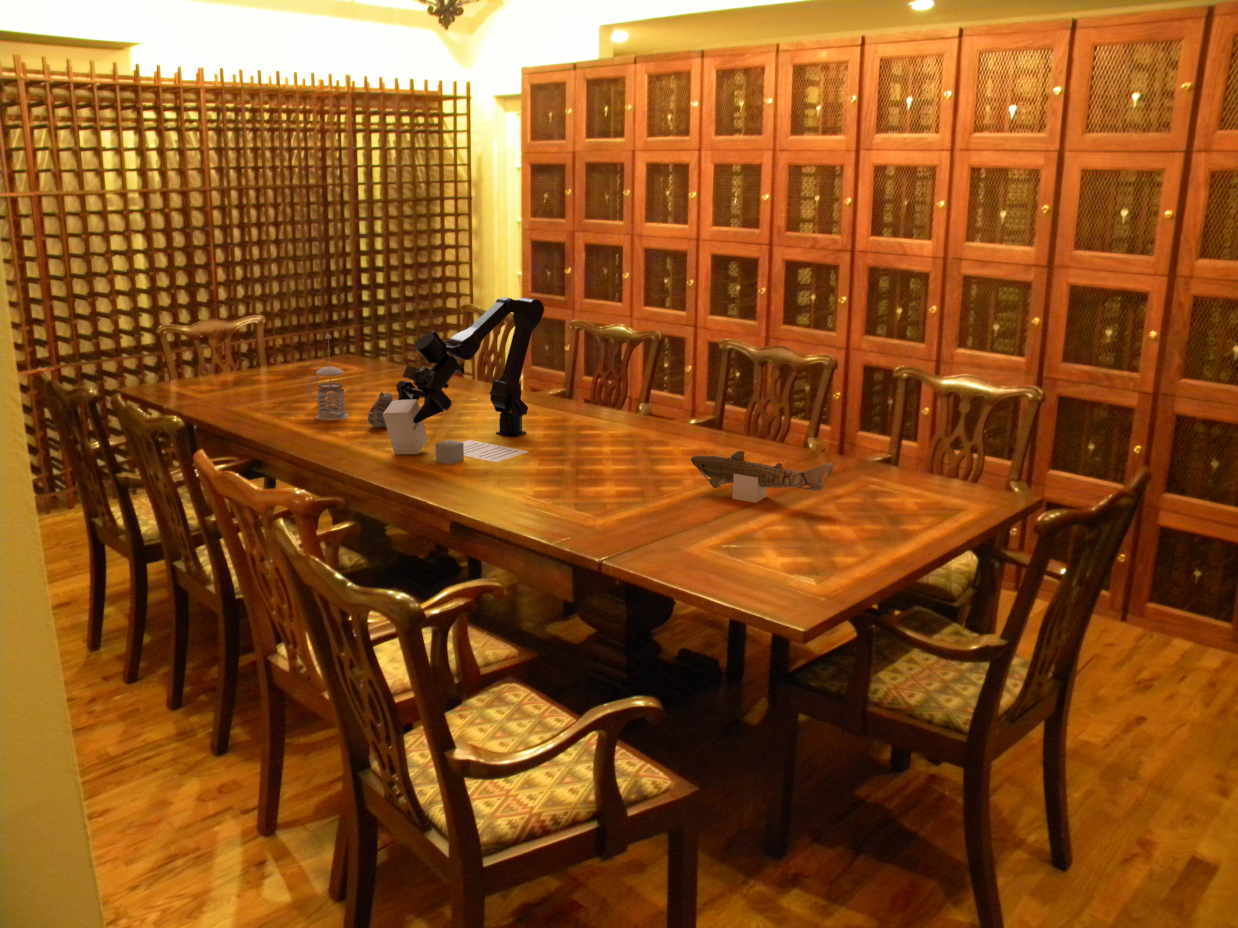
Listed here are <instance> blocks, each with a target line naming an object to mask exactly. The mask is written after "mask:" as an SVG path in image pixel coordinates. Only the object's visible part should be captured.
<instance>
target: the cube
mask: <svg viewBox="0 0 1238 928" xmlns="http://www.w3.org/2000/svg"><path fill="white" fill-rule="evenodd" d="M462 442H463V441H462ZM462 442H460V441H456V440H451V439H447V440H443V441H440V442H437V443H435V461H436V462H438V463H442V464H446V465H454V464H457V463H461V462H463V461H464V460H465V456H464V443H462Z"/></svg>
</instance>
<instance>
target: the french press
mask: <svg viewBox="0 0 1238 928" xmlns="http://www.w3.org/2000/svg"><path fill="white" fill-rule="evenodd" d="M324 338H325V339H327V343H328V344H327V349H328V351H330V342H329V340H331V339H332V335H331V334H326V335H324ZM330 357H331V356H330V354H328V366H324V367H322V368H320V369H318V370H317V371H315V374H316V375H315V376H313V377H312V378H310V379H309V381H308V383H307V393H308V395H309V396H310V398H311V399H313V400H314V401H315V402H317V411H318V412H317V413H318V414H316V415H315V419H317V420H320V421H339V420H340V421H341V420H346V419H347V418H349V414H348V413H346V403H345V402H346V401H345V399H346V398H345V389H343V388H342V387H343V386H344V384H343V383H339V382H332V381H331V380H332V379H331V378H332V377H333V376H340V375H341V376H342V375H343V374H344V372H345V371H344V370H343V369H341V368H339V367H336V366H331V363H330V362H331V359H330ZM319 376H328V377H329V382H327V383H325V382H324V383H320V384H318V385H317V386H318V388H319V389H318V390H317V397H315V396H314V394H313V392H312V389H311V383H312V381H313V380H314V379H316V382H319V380H320V378H319Z"/></svg>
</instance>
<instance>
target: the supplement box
mask: <svg viewBox="0 0 1238 928" xmlns="http://www.w3.org/2000/svg"><path fill="white" fill-rule="evenodd" d="M419 404H420V403H419V400H417V399H413V400H398V399H395V400H394V399H392V402H391V403H390V405H389V406H388V407H387V409H386V410H385V412H384V413H383V417H384V420H385V423H386V430H387V433H388V436H389V441H390V443H391V447H392V450H393V454H394V455H420V452H421V451H422V450H423V448H424V447H425V445H426V443H427V442H428V441H429V437H428V434H427V430H426V428H425V427H426V426H425V423H424V420H423V421H421V422H418V423H414V422H413V420H414V418H415V416H416V415H417V413H418V412H419V410H420V409H421V407H420V405H419Z"/></svg>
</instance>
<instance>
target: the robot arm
mask: <svg viewBox="0 0 1238 928" xmlns="http://www.w3.org/2000/svg"><path fill="white" fill-rule="evenodd" d="M544 312H545V306H544V304H543V302H542V301H541V300H540V299H536V298H531V297H523V296H522V297H519V298H518V299H513V298H510V297H503V296H501V297H498V298H497V299H495V303H494V304H493V305H491V307H489V308H488V309H487V310H486V311H485V312H484V313H483V314H482V315H480V317H479V318H478V319H477V320H476V321H475V322H474V323H472V325H471V326H469V327H468V328H467V329H464V330H462V331H459V332H457V333H456V334H454V335H452V336H451V337H450V338H449V339H448V340H445V341H443V340H442V338H441V337H440V336H439V334H438V332H437V331H435V330H430V331H429V332H428V333H426V334H423V335H422V336H421V337H419V338H417V340H416V341H415V342H414V343H415V344H414V348H415V349H416V350H417V352H418V353H419V354H420V355H421V356H422V358H424V359H425V361H426V362H427V364H433V365H432V366H431V368H429V367H427V366H421V367H420V368H418V367H415V366H412V365H409V364H408V365H406V366H405V369H404V372H403V373H402V377H403V378H405V379H406V378H407V379H409V380H411V381H413V382H411V381H407V380H404V379H403V380H399V381H398V382H397V383H396V385H395V388H396V391H397V394H398V399H397V400H413V399H417V400H418V401H419V400H420V398H422V399H424V400H423V404H422V406H421V407H420V410H419V412H418V413H417V415H416V416H415V418H414V420H413V422H414V423H418V422H421V421H423V422H424V421H425V420H426V419H428V418H430V417H433V416H436V415H438V414H440V413H443V412H444V411H447V412H448V411H449V409H450V408H451V407H452V400H451V398H450V397H449V396H448V395H447V394H446V393H445V392H444V390H443V389H446V390H447V389H448V388H449V384H448V382H449V381H450V380H451V379H452V377H453V376H454V375H455V373H459V374H465V366H464V365H465V364H464V363H462V362H459V361H458V359H461V360H464V361H470V360H471V359H473V358H474V357H475V356H476V354H477V353H478V351H479V350H480V348H481V344H482V342H483V340H484V339H485V338H486V337H487V336H488V335H489V334H490V333H491V332H492V331H493V330H494V329H495V328H496V327H497V326H499V324H501V322H502V321H504V319H505V318H506V317H508V316H509V315H510V314H511V313H512V319H513V322H514V323H513V324H514V331H513V335H512V337H511V341H510V345H509V348H508V353H507V356H506V357H507V358H506V360H505V364H504V368H503V372H502V375H501V377H500V378H499V379H498V380H495V379H494V380H493V381H492V386H491V389H490V391H489V393H488V394H490V402H491V403H492V405H493V407H494V411H495V412H497V413H500V414H499V420H498V421H499V431H496V432H495V435H499V436H503V437H510V438H515V437H519V436H521V435H526V434H527V431H526V430H523V416H526V415H527V414H528V410H529V407H528V405H527V404H526V403H525V402H524V401H523V400H522V387H521V383H520V379H521V377H522V376H521V375H522V373H523V372H522V371H523V368H524V363H525V360H526V356H527V353H528V348H529V344H530V341H531V338H532V333H533V331H534V330H535V329H536V328H537V327H538V325H539V324H540V323H541V321H542V318H543V315H544Z"/></svg>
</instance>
